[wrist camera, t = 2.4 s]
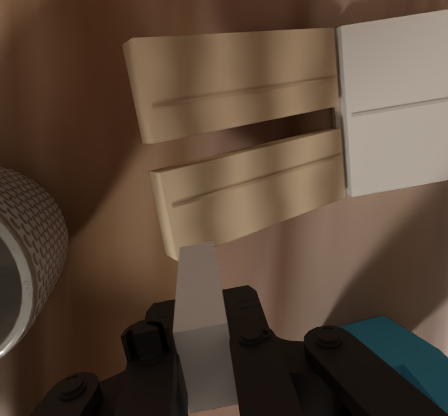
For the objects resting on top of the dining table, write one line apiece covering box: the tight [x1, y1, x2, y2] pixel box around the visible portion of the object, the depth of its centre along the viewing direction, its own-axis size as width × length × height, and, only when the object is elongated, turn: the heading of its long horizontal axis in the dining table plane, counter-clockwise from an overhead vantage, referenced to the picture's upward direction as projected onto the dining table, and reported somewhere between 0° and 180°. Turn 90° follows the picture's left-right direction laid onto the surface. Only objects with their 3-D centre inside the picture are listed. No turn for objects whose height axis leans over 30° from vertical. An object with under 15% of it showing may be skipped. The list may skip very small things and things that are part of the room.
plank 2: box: [149, 129, 345, 261], centre depth 31 cm, size 18×6×2 cm, turn 99°
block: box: [339, 316, 448, 414], centre depth 33 cm, size 12×5×20 cm, turn 102°
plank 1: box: [122, 27, 339, 144], centre depth 29 cm, size 18×6×2 cm, turn 99°
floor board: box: [332, 9, 448, 197], centre depth 35 cm, size 11×15×2 cm
